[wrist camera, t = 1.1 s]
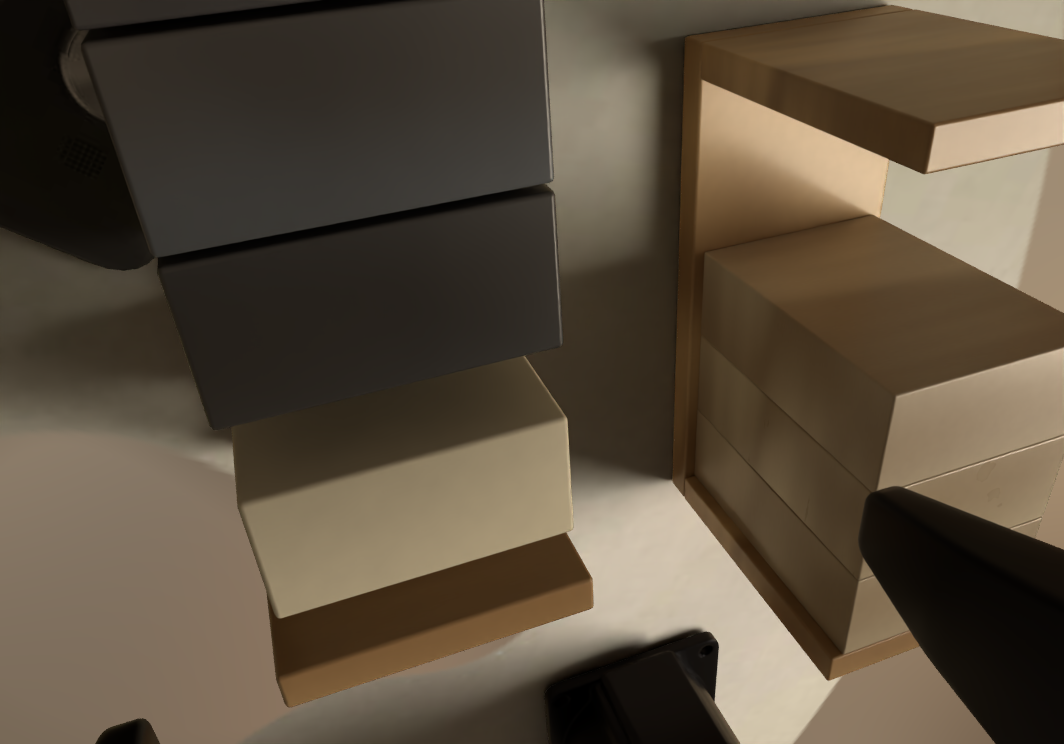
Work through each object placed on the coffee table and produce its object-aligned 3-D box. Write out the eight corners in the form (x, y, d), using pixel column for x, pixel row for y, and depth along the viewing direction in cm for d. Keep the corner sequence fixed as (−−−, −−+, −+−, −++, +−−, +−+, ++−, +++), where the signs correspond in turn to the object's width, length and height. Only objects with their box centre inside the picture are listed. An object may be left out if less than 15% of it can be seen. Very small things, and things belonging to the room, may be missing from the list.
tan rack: (477, 392, 22) (595, 609, 15) (255, 447, 20) (286, 710, 14) (390, -294, 14) (553, -418, 8) (28, -279, 13) (-124, -415, 6)
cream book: (465, 341, 20) (575, 531, 14) (249, 391, 19) (275, 622, 13) (452, 247, 19) (569, 417, 13) (220, 296, 17) (236, 505, 12)
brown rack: (827, 436, 27) (1019, 609, 21) (671, 482, 26) (827, 682, 20) (892, 4, 20) (1213, 69, 14) (683, 35, 19) (933, 124, 12)
